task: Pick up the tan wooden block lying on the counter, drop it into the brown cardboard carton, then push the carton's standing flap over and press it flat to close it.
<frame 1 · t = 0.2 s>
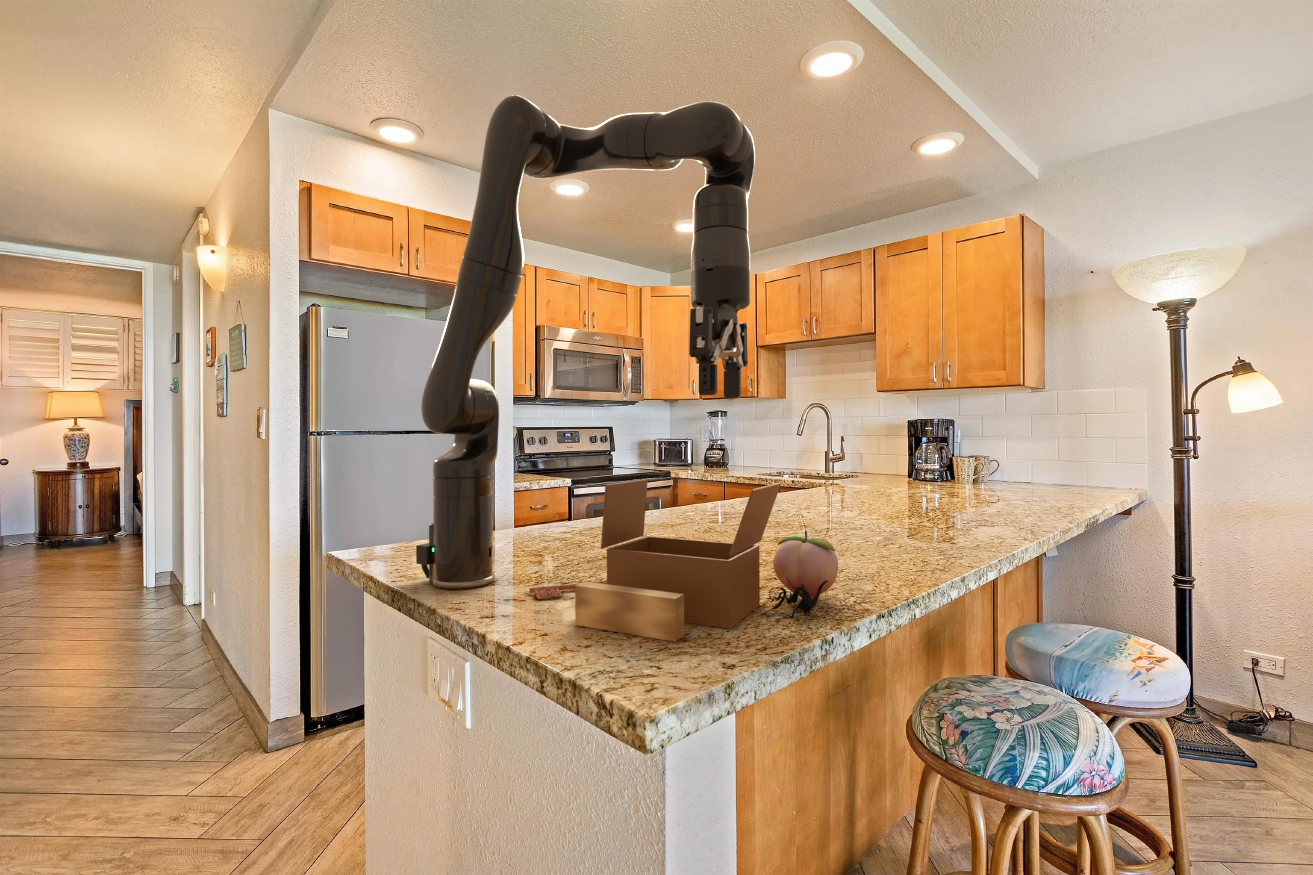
hand: (720, 396, 79), 29 cm above the countertop, tool pointing down, fingers open, 8 cm apart
tan wooden block: (628, 630, 76), on the countertop
key: (580, 591, 94), on the countertop
creature: (792, 615, 82), on the countertop
carton: (684, 607, 85), on the countertop
flap: (756, 517, 80), point 13 cm above the countertop, hinge at 110.0°
decorative fruit: (806, 600, 89), on the countertop
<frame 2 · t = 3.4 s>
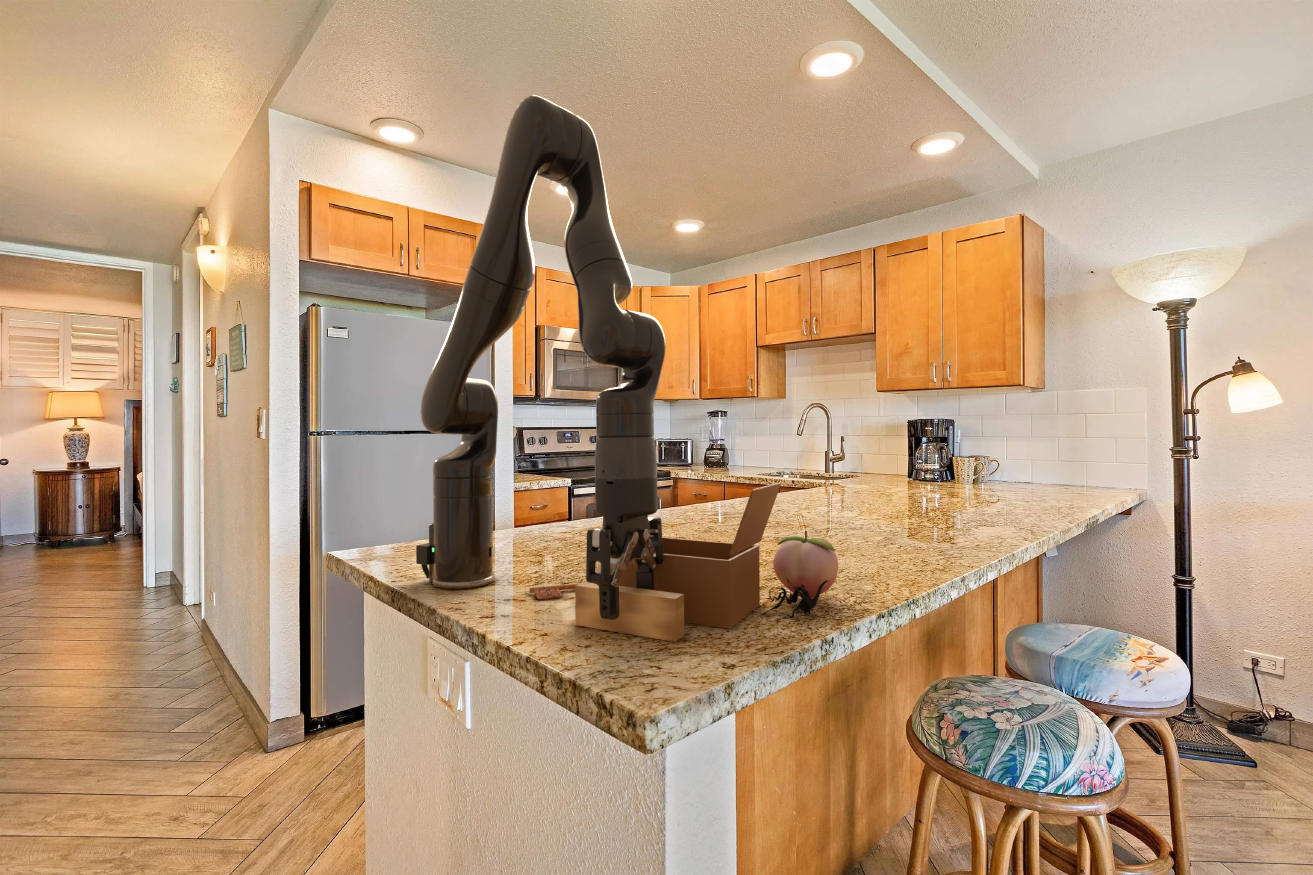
hand: (628, 609, 74), 3 cm above the countertop, tool pointing down, fingers open, 8 cm apart
nothing on the countertop moved.
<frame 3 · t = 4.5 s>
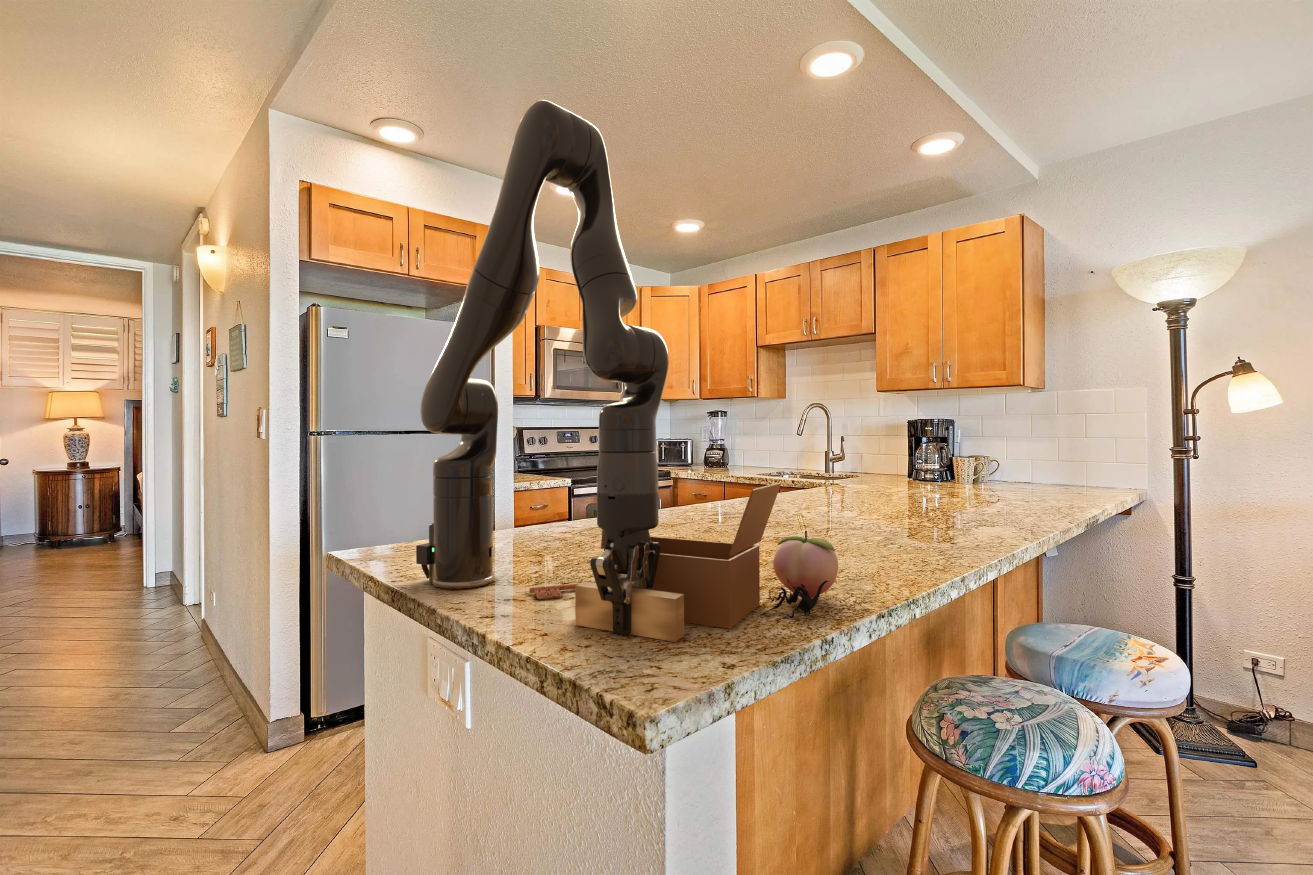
hand: (628, 629, 76), 0 cm above the countertop, tool pointing down, fingers closed on tan wooden block, 2 cm apart
tan wooden block: (628, 630, 76), on the countertop, touching gripper
everything else where it was.
when the fingers open (6 cm above the countertop, at t = 11.2 s): tan wooden block drops 5 cm, resting on carton.
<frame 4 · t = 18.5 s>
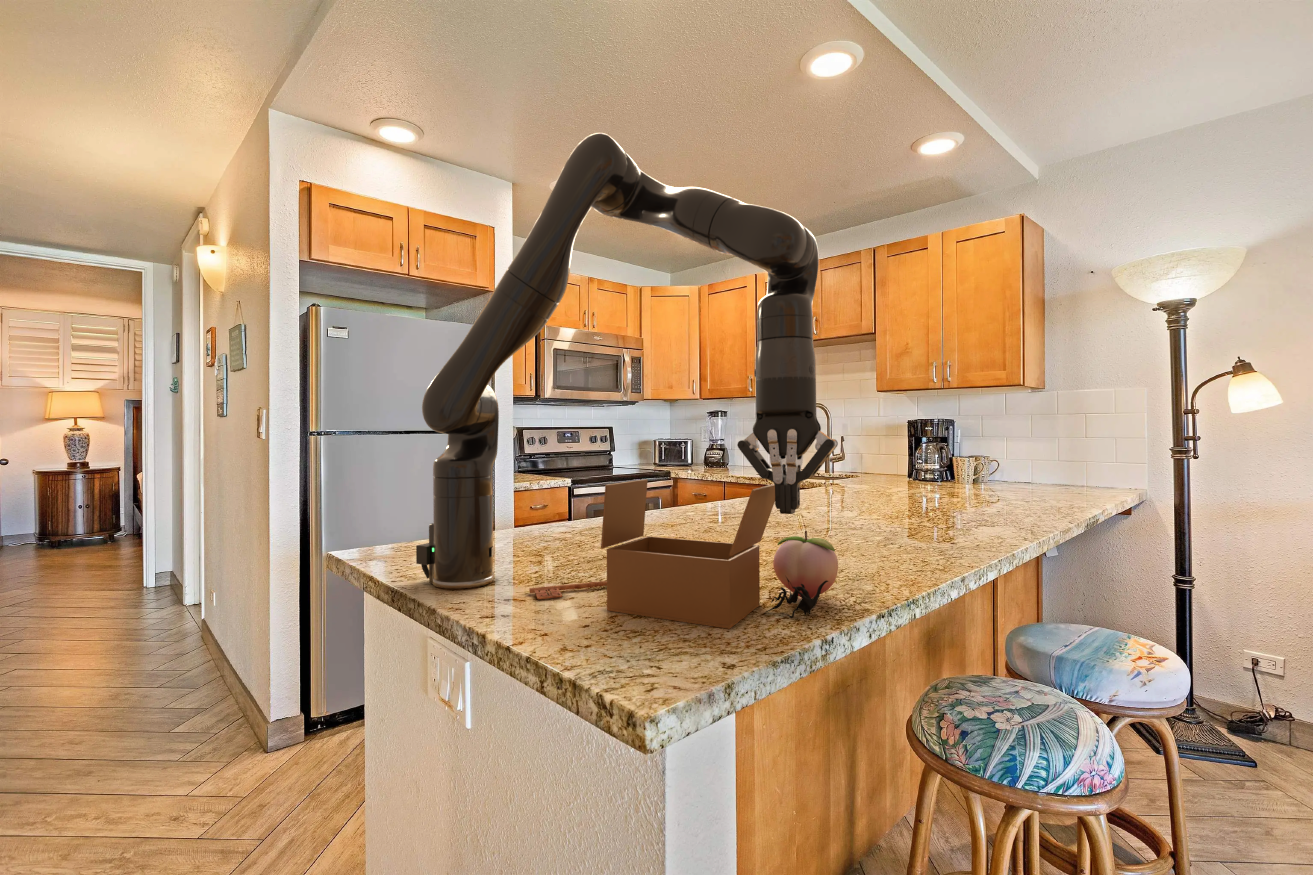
hand: (787, 513, 78), 14 cm above the countertop, tool pointing down, fingers closed
tan wooden block: (684, 604, 85), resting on carton
flap: (756, 517, 80), point 13 cm above the countertop, hinge at 110.1°, touching gripper
everything else where it was.
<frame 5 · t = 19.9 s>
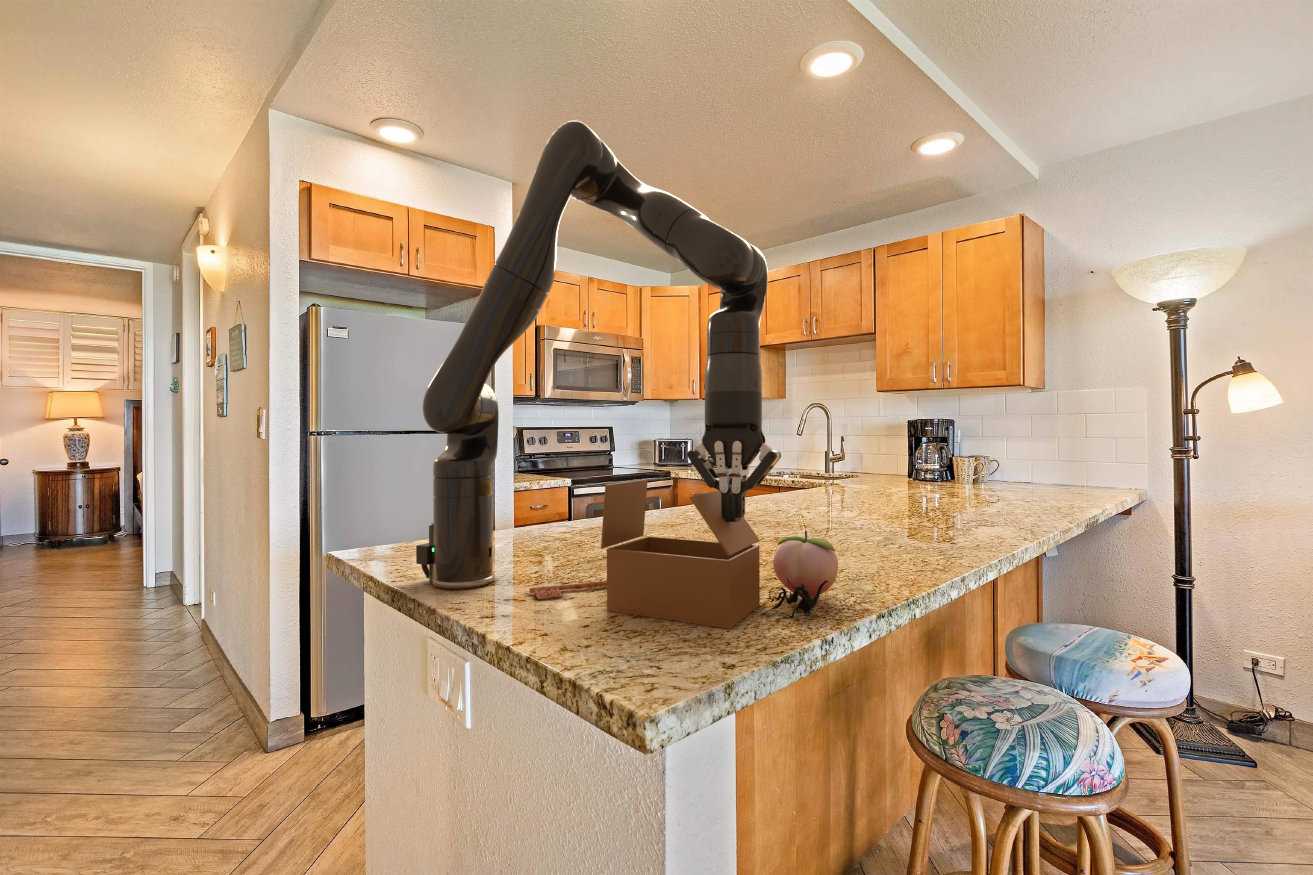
hand: (732, 521, 82), 12 cm above the countertop, tool pointing down, fingers closed
flap: (726, 520, 82), point 13 cm above the countertop, hinge at 53.0°
everything else where it was.
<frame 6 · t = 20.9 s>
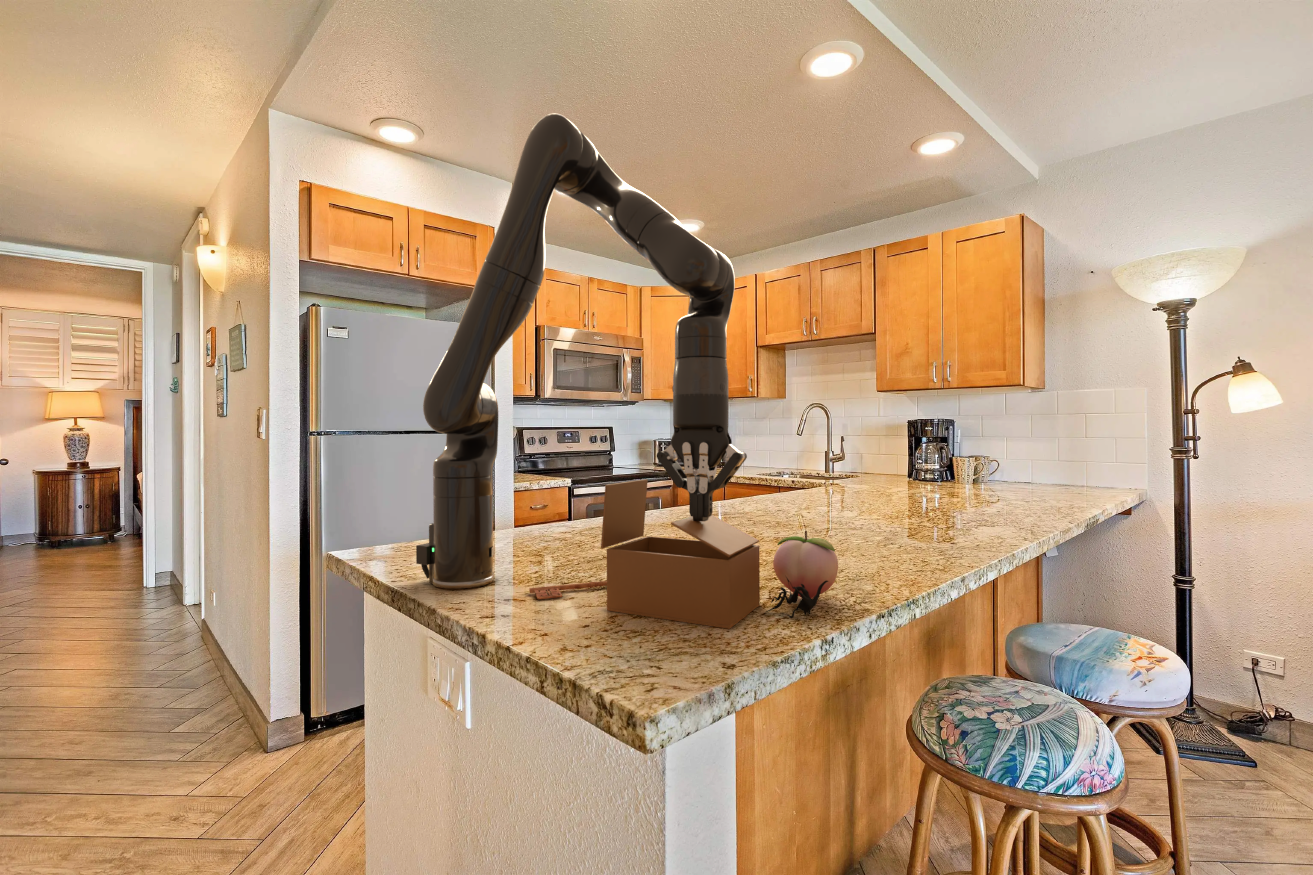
hand: (700, 520, 84), 12 cm above the countertop, tool pointing down, fingers closed
flap: (716, 532, 83), point 11 cm above the countertop, hinge at 23.9°, touching gripper
everything else where it was.
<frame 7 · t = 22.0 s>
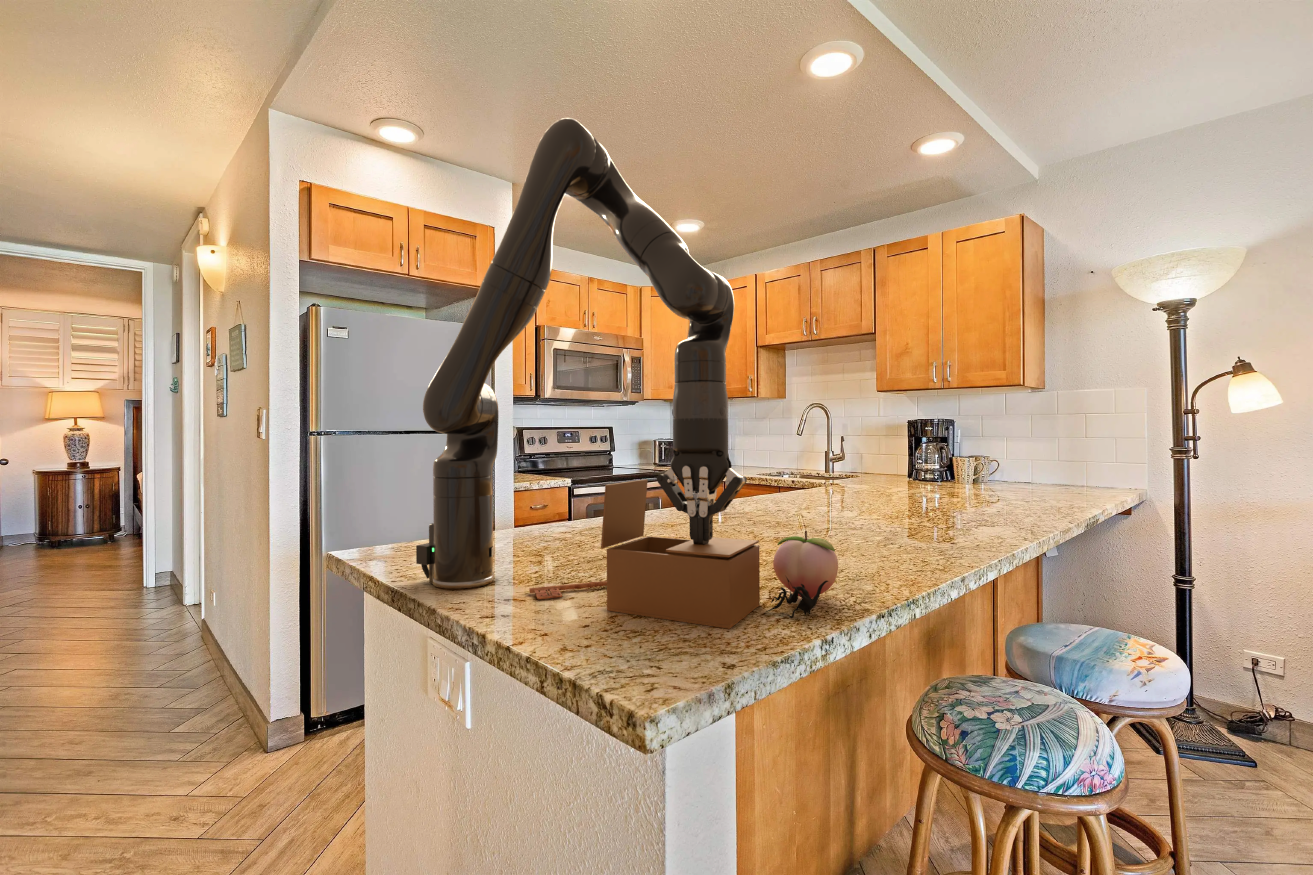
hand: (701, 543, 84), 9 cm above the countertop, tool pointing down, fingers closed
flap: (714, 545, 83), point 9 cm above the countertop, hinge at -0.3°, touching gripper
everything else where it was.
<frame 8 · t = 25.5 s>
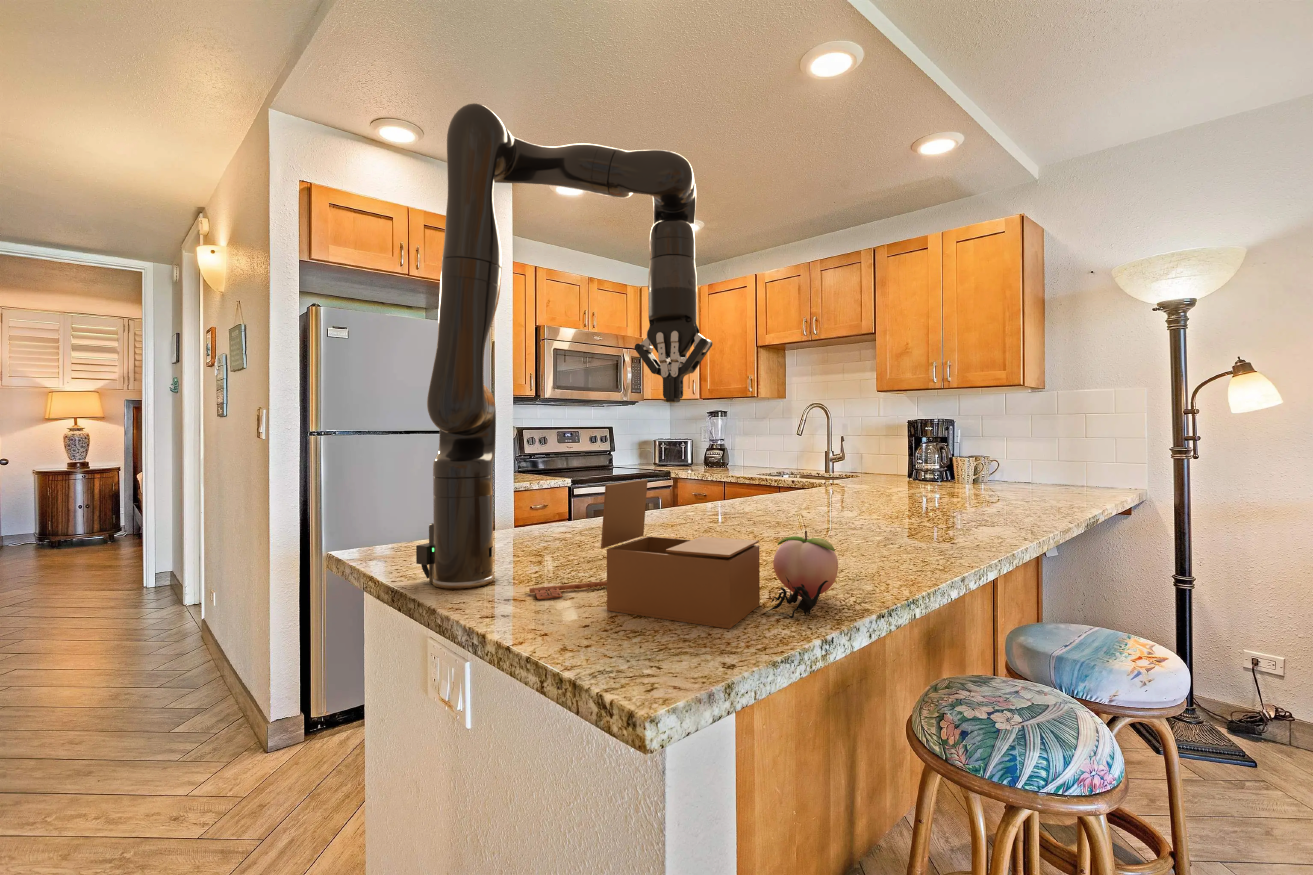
hand: (672, 402, 96), 29 cm above the countertop, tool pointing down, fingers closed
flap: (714, 545, 83), point 9 cm above the countertop, hinge at -0.4°
everything else where it was.
at the end: tan wooden block inside the target area in the carton (0.1 cm from its centre), point 0.4 cm above the carton's base; flap at +0° (first picture: +110°) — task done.
